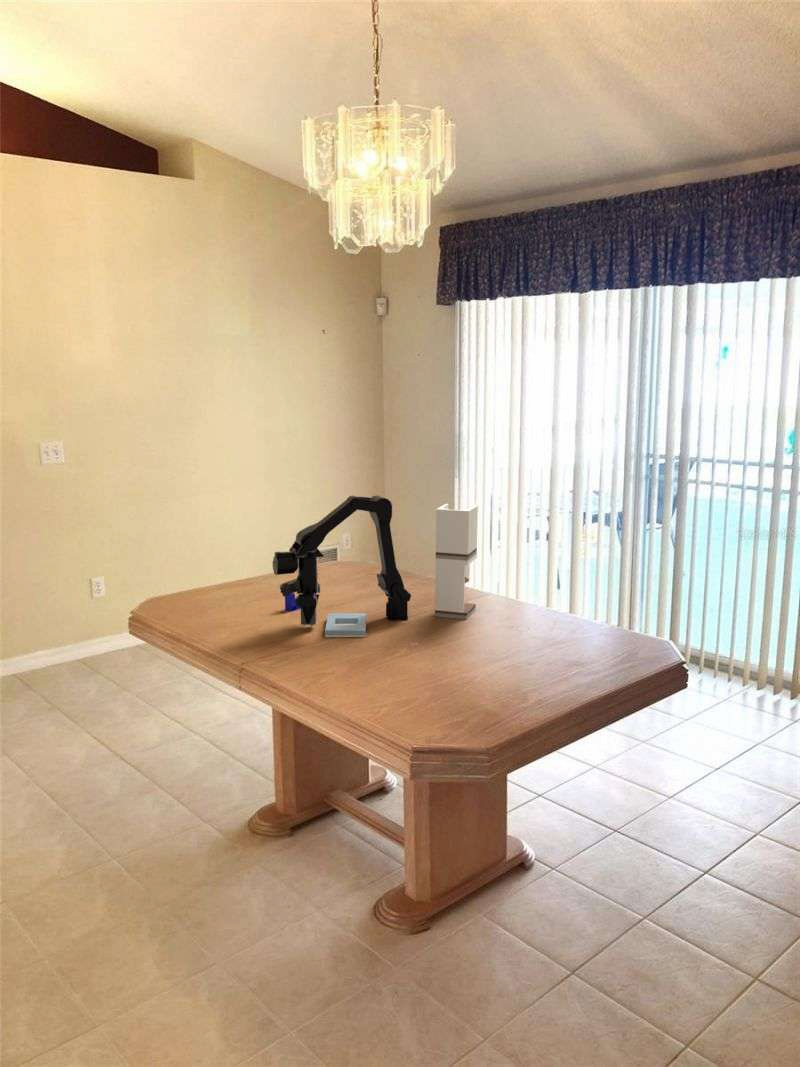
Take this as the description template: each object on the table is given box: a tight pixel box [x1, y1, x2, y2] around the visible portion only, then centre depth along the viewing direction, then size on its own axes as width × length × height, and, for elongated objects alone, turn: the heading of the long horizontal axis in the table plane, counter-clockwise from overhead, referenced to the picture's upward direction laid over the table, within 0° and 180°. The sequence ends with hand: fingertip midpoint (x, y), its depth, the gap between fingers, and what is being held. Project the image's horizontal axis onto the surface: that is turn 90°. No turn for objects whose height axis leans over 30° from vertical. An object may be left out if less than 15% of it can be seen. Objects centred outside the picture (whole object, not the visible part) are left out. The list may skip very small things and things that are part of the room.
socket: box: [324, 612, 367, 638], centre depth 268 cm, size 12×18×2 cm, turn 1°
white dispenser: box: [434, 503, 479, 620], centre depth 281 cm, size 11×11×35 cm
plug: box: [300, 607, 317, 627], centre depth 267 cm, size 4×4×7 cm
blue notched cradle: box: [284, 592, 317, 612], centre depth 291 cm, size 12×4×6 cm, turn 144°
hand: (308, 621), depth 267 cm, fingers closed on plug, 4 cm apart
